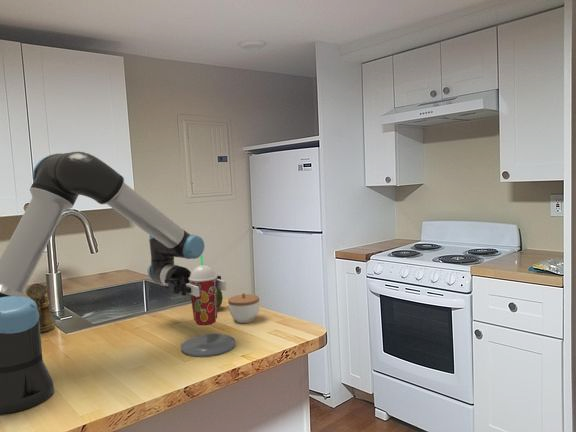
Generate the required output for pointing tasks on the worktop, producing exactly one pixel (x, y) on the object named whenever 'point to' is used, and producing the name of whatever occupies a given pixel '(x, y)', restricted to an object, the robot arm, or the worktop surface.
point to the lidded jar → (244, 307)
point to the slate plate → (208, 345)
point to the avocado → (219, 298)
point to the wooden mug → (41, 306)
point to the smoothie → (204, 294)
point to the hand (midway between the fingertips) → (211, 288)
